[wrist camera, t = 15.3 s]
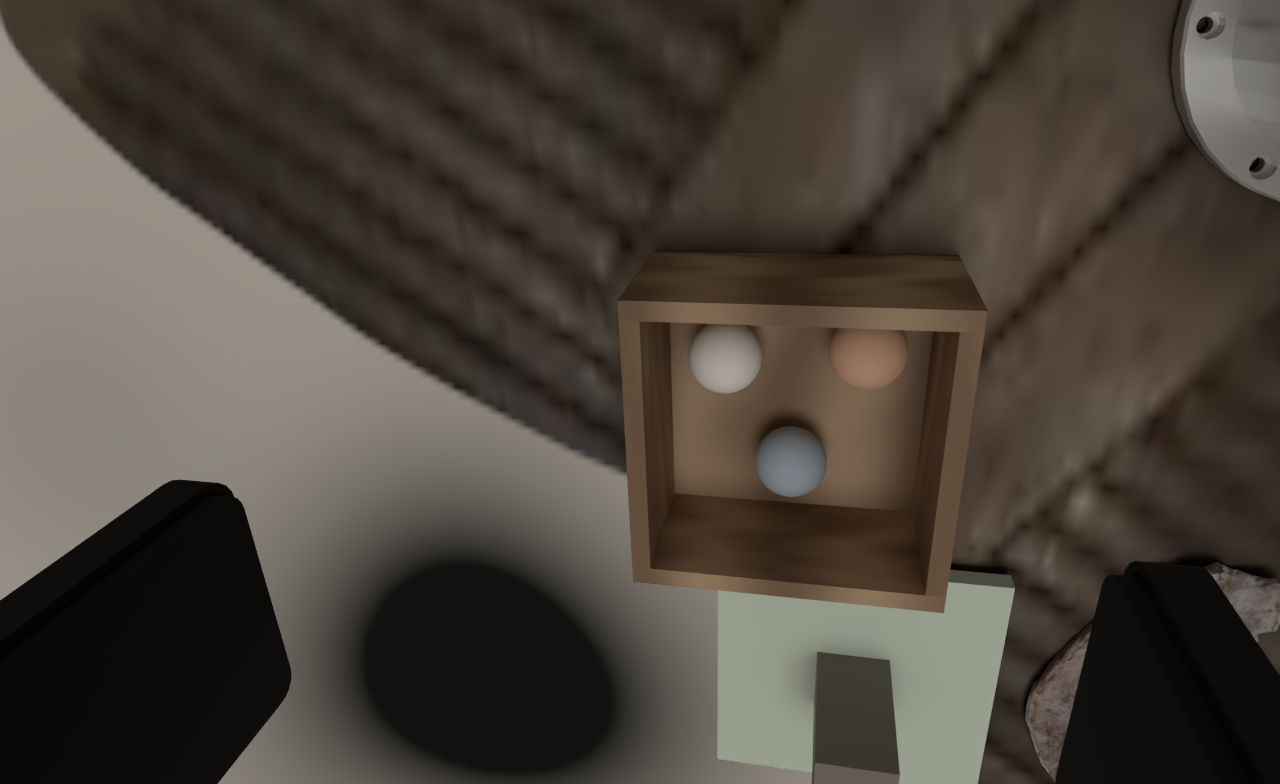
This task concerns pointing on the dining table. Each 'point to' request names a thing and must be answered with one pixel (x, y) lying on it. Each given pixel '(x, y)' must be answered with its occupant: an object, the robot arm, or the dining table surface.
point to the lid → (862, 684)
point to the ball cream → (725, 357)
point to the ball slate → (791, 461)
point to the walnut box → (810, 399)
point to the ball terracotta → (868, 356)
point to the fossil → (1056, 688)
